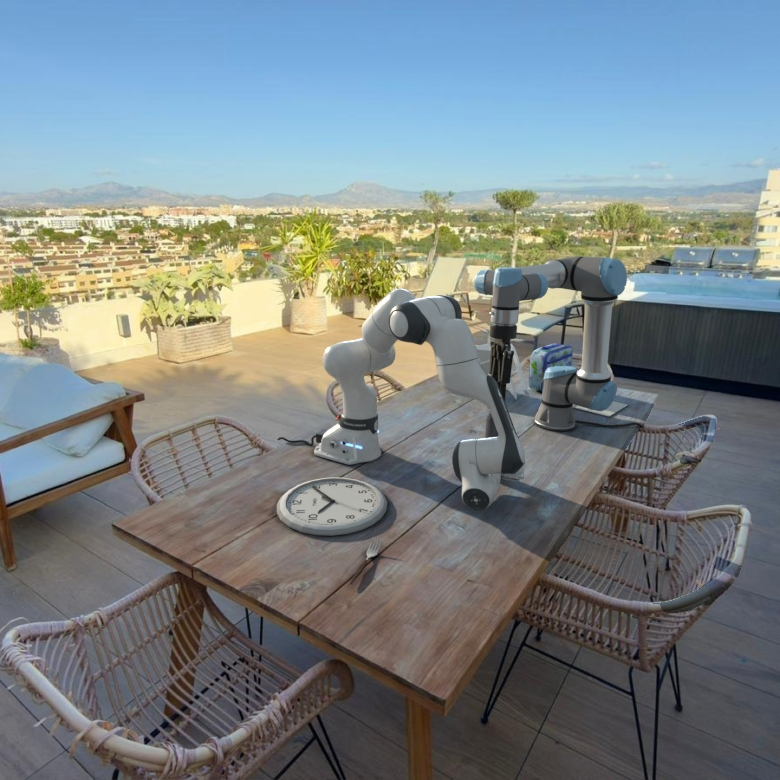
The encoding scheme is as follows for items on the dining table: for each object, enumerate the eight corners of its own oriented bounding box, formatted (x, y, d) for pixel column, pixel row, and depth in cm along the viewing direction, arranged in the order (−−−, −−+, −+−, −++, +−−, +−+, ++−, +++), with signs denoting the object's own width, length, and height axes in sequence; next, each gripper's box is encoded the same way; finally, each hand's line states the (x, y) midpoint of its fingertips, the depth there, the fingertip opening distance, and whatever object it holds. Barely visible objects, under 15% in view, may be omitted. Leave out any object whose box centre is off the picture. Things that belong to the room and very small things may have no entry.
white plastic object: (461, 429, 252) (437, 405, 227) (444, 352, 274) (420, 323, 250) (535, 404, 240) (518, 377, 215) (510, 326, 262) (492, 293, 237)
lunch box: (544, 395, 239) (549, 351, 233) (524, 390, 247) (528, 347, 240) (571, 384, 257) (577, 343, 251) (552, 380, 264) (556, 339, 258)
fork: (344, 585, 111) (344, 577, 110) (372, 544, 125) (372, 537, 125) (355, 588, 110) (355, 580, 109) (382, 546, 124) (382, 539, 124)
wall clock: (392, 527, 129) (268, 531, 127) (391, 533, 130) (269, 537, 127) (383, 473, 158) (282, 475, 155) (383, 478, 158) (282, 480, 156)
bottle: (479, 471, 164) (485, 396, 157) (497, 470, 165) (503, 395, 157) (485, 479, 159) (491, 402, 151) (503, 478, 160) (509, 401, 152)
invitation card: (608, 416, 214) (573, 407, 224) (608, 416, 214) (573, 408, 224) (628, 404, 229) (594, 396, 238) (628, 405, 229) (594, 397, 238)
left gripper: (524, 469, 144) (528, 450, 157) (451, 458, 150) (461, 441, 163) (522, 490, 146) (526, 469, 159) (450, 478, 152) (460, 459, 165)
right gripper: (482, 318, 155) (476, 393, 162) (500, 329, 139) (494, 412, 146) (506, 318, 156) (500, 393, 163) (527, 329, 140) (519, 411, 147)
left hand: (493, 455), depth 161 cm, fingers closed on bottle, 5 cm apart
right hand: (497, 401), depth 155 cm, fingers closed on cap, 4 cm apart
